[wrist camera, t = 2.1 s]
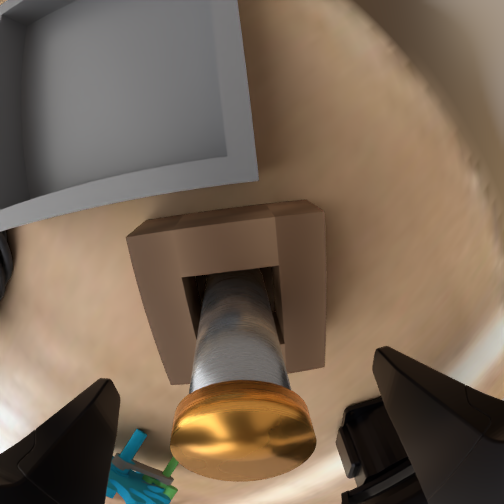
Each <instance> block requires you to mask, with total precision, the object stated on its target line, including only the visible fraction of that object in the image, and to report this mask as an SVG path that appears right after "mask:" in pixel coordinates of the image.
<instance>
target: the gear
mask: <svg viewBox="0 0 504 504" xmlns="http://www.w3.org/2000/svg"><path fill="white" fill-rule="evenodd" d="M146 437H147V434H146V433H144V432H143V431H141V430H139V429H136V431H135V432H134V434H133V435H132V437H131V438H130V440H129V441H128V443H127V445H126V446H125V448H124V449H123V451H122V452H121V454H119V453H116V455H115V456H112V462H111V467H110V473H109V478H108V485H107V491H106V496H107V497H110V498H113V497H114V495H115V494H116V492H117V493H118V494H119V495H120V496H121V497H122V498H123V499H124V500H125V502H126V504H169V503H170V502H171V500H172V498H173V497H174V495H175V494H176V492H177V491H178V489H176V488H175V487H173V486H171V483H172V482H173V480H174V479H173V478H172V477H171V474H172V472H173V471H174V469H175V468H176V466H177V465H178V463H179V462H178V461H177V460H176V459H175V458H174V456H173V457H172V459H171V460H170V462H169V463H168V465H167V467H166V468H165V470H164V471H163V472H162V471H160V470H157V469H154V468H152V467H149V466H147V465H144V464H142V463H140V462H137V461H135V460H133V457H134V456H135V454H136V452H137V451H138V449H139V448H140V446H141V445H142V443H143V442H144V440H145V438H146ZM133 470H135V471H136V472H134V471H133ZM155 478H156V479H155ZM164 488H165V489H164Z"/></svg>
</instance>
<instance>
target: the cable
mask: <svg viewBox="0 0 504 504" xmlns="http://www.w3.org/2000/svg"><path fill="white" fill-rule="evenodd" d="M12 269H13V262H12V255H11V251H10V248H9V246H8V243H7V235H6V230H4V231H1V232H0V300H1V299H2V298H3V295H4V292H5V285H6V284H7V282H8V281H9V279H10V277H11V274H12Z"/></svg>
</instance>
